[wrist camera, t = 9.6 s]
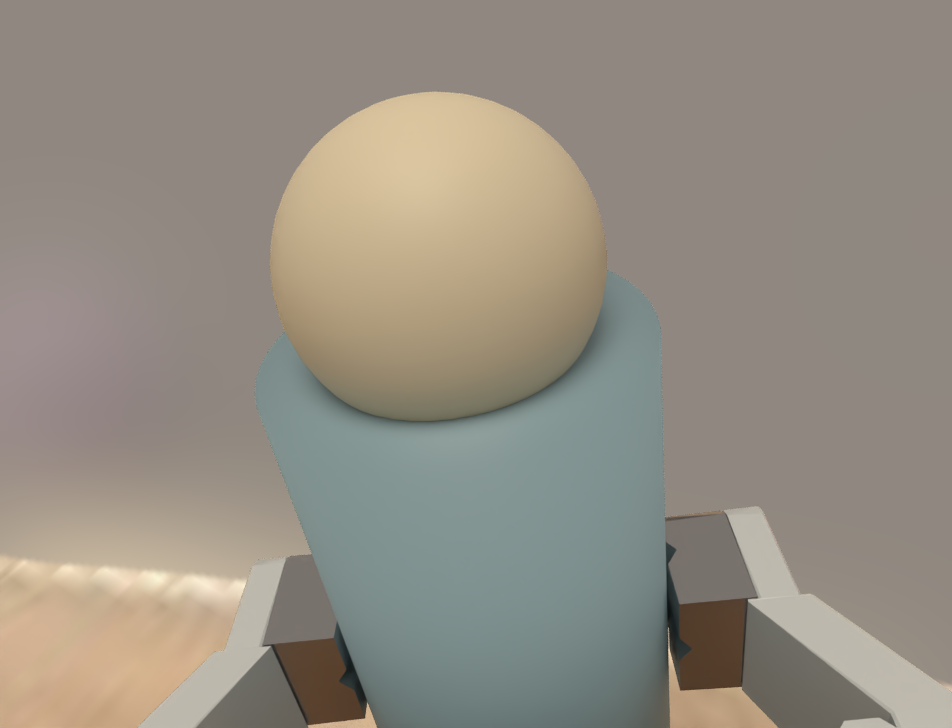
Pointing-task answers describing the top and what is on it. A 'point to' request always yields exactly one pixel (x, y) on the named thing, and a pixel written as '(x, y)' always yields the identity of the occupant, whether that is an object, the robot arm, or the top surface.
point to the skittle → (471, 422)
